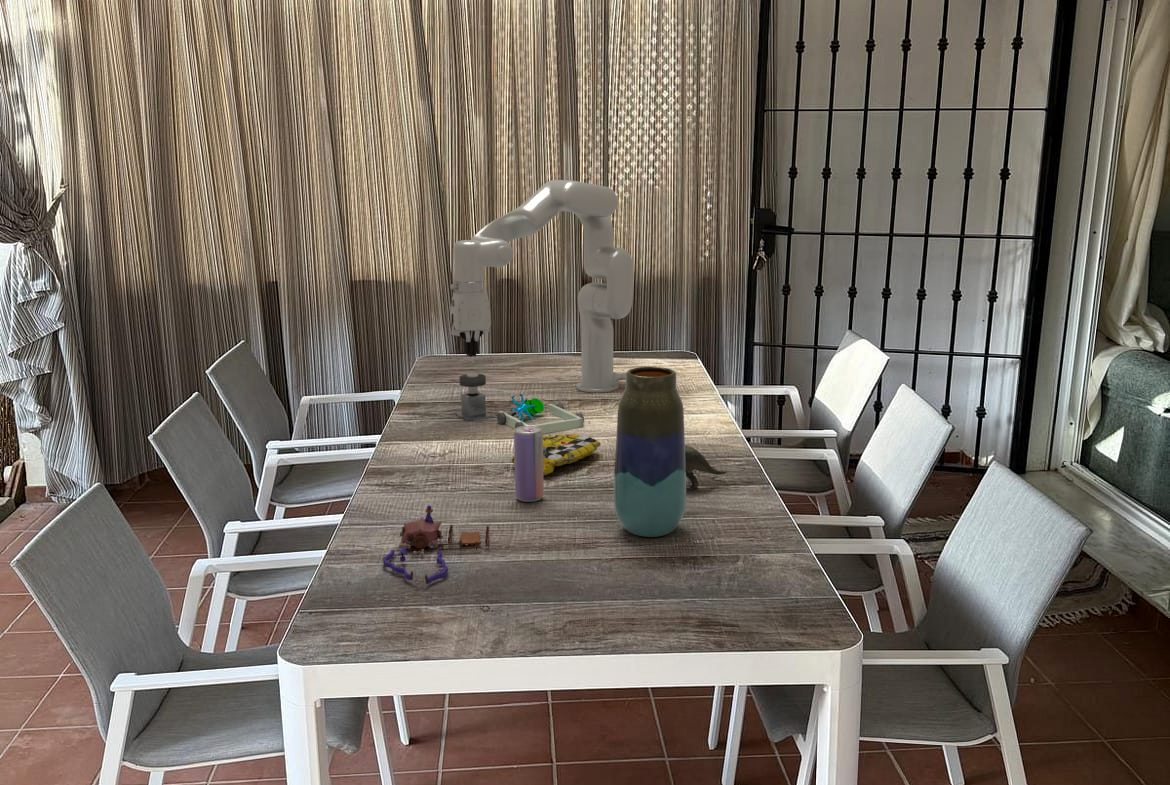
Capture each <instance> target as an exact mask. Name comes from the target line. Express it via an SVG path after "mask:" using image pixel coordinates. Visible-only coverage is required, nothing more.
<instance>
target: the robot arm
mask: <svg viewBox="0 0 1170 785" xmlns="http://www.w3.org/2000/svg"><path fill="white" fill-rule="evenodd" d="M618 203H619V202H618V196H617V194H616V192H615V191H614V190H613V189H612V188H610V187H609V186H604V185H599V184H593V183H588V182H583V181H579V180H578V181H577V180H569V179H552V180H549V181H547V182H545V183H544V184H542V186H540V187H539V188H538V189H537V190H536V191H535V192H534V193H533V194H532V195H530V196H529V197H528V198H527V199H526V200H525V201H524V202H523V203H522V204H520V206H518V207H517V208H515V209H513V210H510V211H509V212H506V214H503V215H502V216H500V217H498V218H495V219H494V220H492V221H490V222H489V223H488V224H486V225H485V226H483V227H482V228H481V229H480V230H479V231H478V232H476V234H474V235H473V237H471V239H464V240H457V241H455V243H454V245H453V246H454V247H453V248H454V250H453V251H454V252H453V254H454V256H453V257H454V258H453V259H454V283H452V284H451V283H450V286H449V288H450V290H454V292H453V294H452V297H451V298H452V299H451V306H450V327H451V331H450V334H451V335H453V336H456V337H460V338H461V339H462V340H463V341H464V353H465V355H466V356H468V357H469V358H470V357H477V353H478V341H479V340H480V338H481V337H482V336H483V335H484V334H487V333H490V332H491V329H490V328H491V326H492V318H491V315H492V314H491V307H490V306H491V305H490V301H489V295H488V292H487V291H485V286H484V285H485V284H484V283H485V281H484V280H485V278H484V276H485V275H484V268H486V267H489V268H490V267H492V268H502V267H505V266H507V265H508V264H510V262H511V261H512V260H513V258H514V249H513V246H512V245H511V244H510V243H509V242H510V241H513V240H517V239H520V238H525V237H526V238H527V237H529V236H532V235H535V234H536V233H537V234H538V232H539V231H541V230H542V229H543V228H544V227H545V226H546V225H547V224H549V223H550V221H552V220H553V218H555V217H556V216H557V215H558V214H559V213H561V212H569V213H573V214H574V215H575V216H576V217H577V218H578V220H579V221H580V223H581V226H582V228H583V229H582V230H583V270H584V273H585V274H586V275H587V276H589V277H591V278H593V279H598V280H605V281H606V283H601V282H590V283H587V284H584V285H583V286H582V287H581V289H580V290H579V291H578V295H577V306H578V310H579V312H578V313H579V316H580V317H579V318H580V325H581V326H580V327H581V328H580V330H581V334H580V336H581V337H580V338H581V341H580V342H581V344H580V345H581V346H580V347H581V348H580V349H581V352H580V353H581V355H580V357H581V358H580V359H581V381H580V382H577V383H576V385H575V386H576V389H577V390H579V391H581V392H584V393H595V394H596V393H597V394H598V393H610V392H613V391H617V390H618V389H619V383H618V382H619V381H620V380H621V381H623V380H625V381H626V372H624V373H619V372H616V371H614V325H613V321H612V319H614V320H621V319H624V318H625V317H627V316H628V315H629V314H630V311H631V310H632V306H633V299H634V281H635V280H634V276H635V275H634V274H635V273H634V271H635V267H634V261H633V260H634V259H633V258H632V255H631V254H630V253H629V252H628V251H627V250H626V249H624V248H621V247H615V245H614V229H613V228H614V227H613V222H612V219H611V218H610V216H611V215H613V214H614V213H615V211H616V210H617V208H618V205H619V204H618ZM470 332H471V333H470Z"/></svg>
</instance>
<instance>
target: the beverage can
mask: <svg viewBox="0 0 1170 785" xmlns="http://www.w3.org/2000/svg"><path fill="white" fill-rule="evenodd" d="M543 436H544V434H543V433H542V429H541V428H540V427H538V426H520V427H517V428H516V429H514V434H513V451H514V452H513V453H514V455H513V457H514V459H515V465H514V491H515V492H514V493H515V497H516V498H517V500H519V501H520V502H523V503H524V502H525V503H532V502H533V503H534V502H537V501H541V500H542V499H543V497H544V495H545V494H544V492H545V490H544V486H545V485H544V476H543V441H544V440H543Z"/></svg>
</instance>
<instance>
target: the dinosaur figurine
mask: <svg viewBox="0 0 1170 785" xmlns="http://www.w3.org/2000/svg"><path fill="white" fill-rule="evenodd" d="M685 462H686V479H688V480H690V483H691V485H690V486H689V488H688V489H689V490H694V489H696V488H698V486H699V482H698V478H697V477H696V476H695V474H694V473H693V472H694V471H699V472H704V473H708V474H711V475H716V476H717V475H724V474H727V473H728V471H726V470H725V471H724V470H718V469H716V468H714V467H712V466H711V465H710V464H709V462H708V460H707V459H706V458H705V457H704V456H703V455H702V454H701V453H700V452H699V451H698V450H697V449H695V448H694V447H693V446H690V445H687V444H685Z"/></svg>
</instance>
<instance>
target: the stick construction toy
mask: <svg viewBox="0 0 1170 785" xmlns="http://www.w3.org/2000/svg"><path fill="white" fill-rule="evenodd" d="M519 396H520V397H521V399H520V400H521V403H520V402H518V401H517V400H516V399H515V396H514V395H513V396H511V400H510V403H514V405H515V406H516V407H517V408H514V409H510V410H509V413H511V412H512V413H511V414H510V415H511V416H513V417H516V419H518V418H520V421H522V422H524V423H526V420H524V416H523V415H524V414H526V415H527V416H528V417H529V418H530V422H532V421H533V420H534V416H536V415H538V414H541V413H542V412H543V411H544V409H545V408H544V407H545V406H544V403H543V401H541V399H539V398H537V397H533V398H531V399H527V398H526V399H525V400H524V395H523V393H520V394H519Z"/></svg>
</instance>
